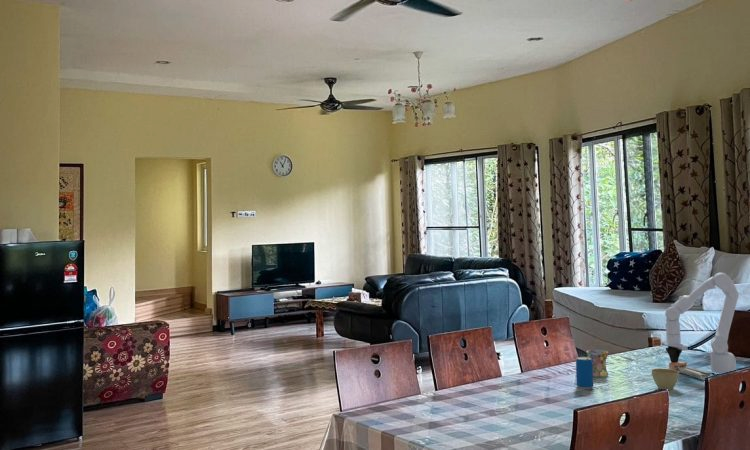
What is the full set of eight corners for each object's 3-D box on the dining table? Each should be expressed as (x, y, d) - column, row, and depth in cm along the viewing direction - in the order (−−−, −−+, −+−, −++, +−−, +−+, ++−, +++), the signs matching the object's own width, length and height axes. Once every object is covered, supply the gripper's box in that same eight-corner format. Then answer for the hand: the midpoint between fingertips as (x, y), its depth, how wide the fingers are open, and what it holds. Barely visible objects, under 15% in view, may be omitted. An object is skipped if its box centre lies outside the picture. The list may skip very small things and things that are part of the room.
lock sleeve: (682, 369, 275) (682, 361, 275) (686, 370, 273) (686, 362, 273) (669, 371, 273) (669, 362, 273) (673, 372, 271) (672, 363, 271)
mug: (596, 372, 275) (595, 349, 276) (613, 376, 267) (613, 352, 268) (578, 376, 269) (577, 352, 270) (595, 380, 261) (594, 355, 262)
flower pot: (676, 393, 236) (676, 374, 236) (649, 390, 242) (648, 371, 243) (682, 387, 244) (681, 369, 244) (655, 384, 250) (654, 367, 250)
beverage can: (594, 389, 245) (593, 359, 245) (577, 389, 246) (576, 359, 247) (592, 385, 252) (591, 356, 252) (575, 385, 253) (574, 356, 253)
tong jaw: (675, 371, 271) (675, 367, 271) (681, 371, 271) (680, 366, 271) (700, 379, 255) (700, 374, 255) (706, 379, 255) (706, 374, 255)
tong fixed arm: (674, 368, 279) (674, 363, 279) (710, 378, 258) (710, 372, 258) (666, 369, 277) (666, 364, 278) (701, 379, 257) (701, 373, 257)
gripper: (654, 332, 282) (655, 361, 281) (677, 336, 267) (678, 367, 267) (667, 331, 283) (668, 360, 283) (690, 335, 269) (692, 366, 269)
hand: (674, 363), depth 275 cm, fingers closed
